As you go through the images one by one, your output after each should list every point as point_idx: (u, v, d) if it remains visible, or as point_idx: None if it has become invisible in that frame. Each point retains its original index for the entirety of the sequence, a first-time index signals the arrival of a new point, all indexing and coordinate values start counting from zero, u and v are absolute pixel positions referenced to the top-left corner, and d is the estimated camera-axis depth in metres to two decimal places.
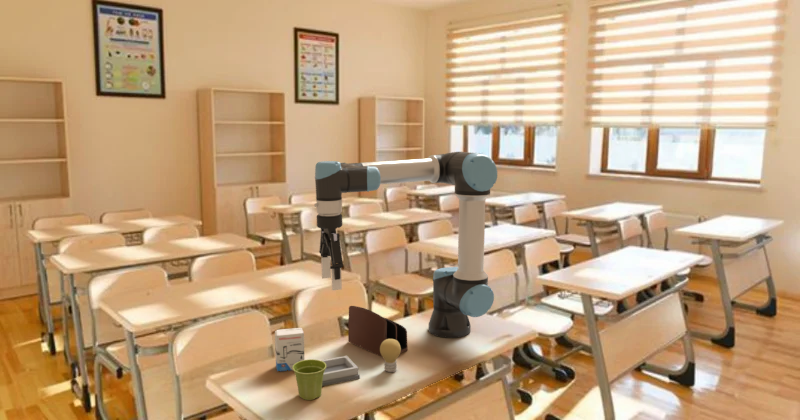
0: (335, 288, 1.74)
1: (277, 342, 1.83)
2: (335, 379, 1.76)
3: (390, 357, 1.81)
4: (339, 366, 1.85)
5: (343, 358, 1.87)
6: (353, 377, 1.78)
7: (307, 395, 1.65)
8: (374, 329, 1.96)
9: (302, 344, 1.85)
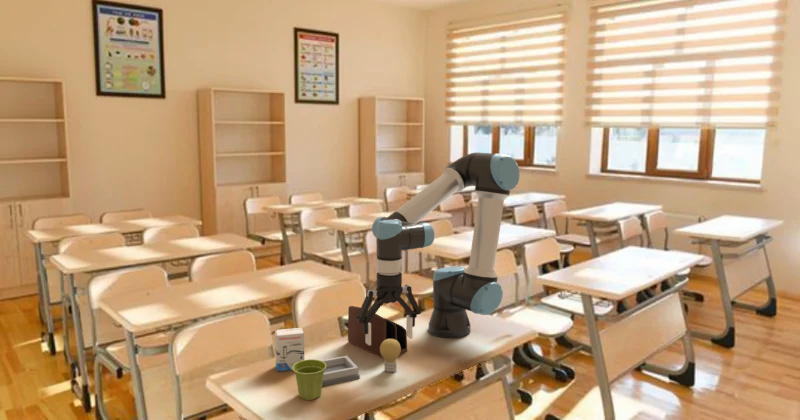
0: (366, 341, 1.80)
1: (277, 342, 1.83)
2: (335, 379, 1.76)
3: (389, 357, 1.81)
4: (339, 366, 1.85)
5: (343, 358, 1.87)
6: (353, 377, 1.78)
7: (307, 395, 1.65)
8: (374, 329, 1.96)
9: (302, 344, 1.85)
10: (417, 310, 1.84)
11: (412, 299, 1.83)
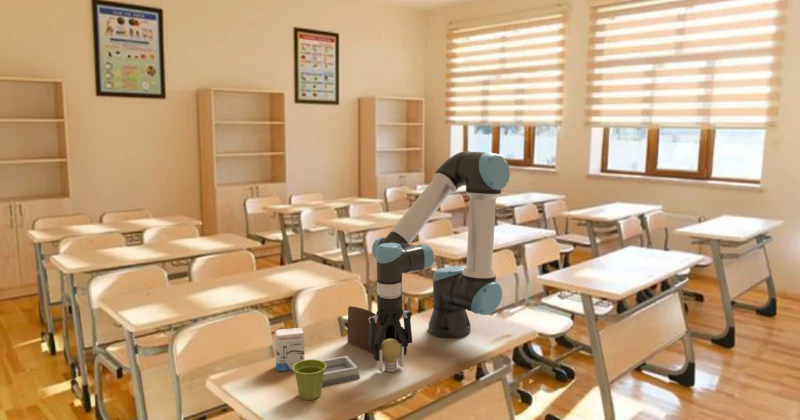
0: (378, 368, 1.83)
1: (277, 342, 1.83)
2: (335, 379, 1.76)
3: (389, 357, 1.81)
4: (339, 366, 1.85)
5: (343, 358, 1.87)
6: (353, 377, 1.78)
7: (307, 395, 1.65)
8: None
9: (302, 344, 1.85)
10: (409, 338, 1.84)
11: (408, 326, 1.83)
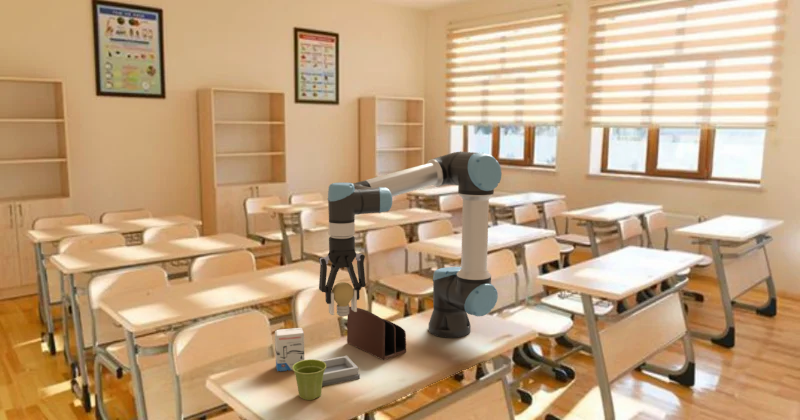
0: (329, 311, 1.78)
1: (277, 342, 1.83)
2: (335, 379, 1.76)
3: (341, 300, 1.75)
4: (339, 366, 1.85)
5: (343, 358, 1.87)
6: (353, 377, 1.78)
7: (307, 395, 1.65)
8: (372, 330, 1.95)
9: (302, 344, 1.85)
10: (362, 282, 1.79)
11: (361, 269, 1.78)
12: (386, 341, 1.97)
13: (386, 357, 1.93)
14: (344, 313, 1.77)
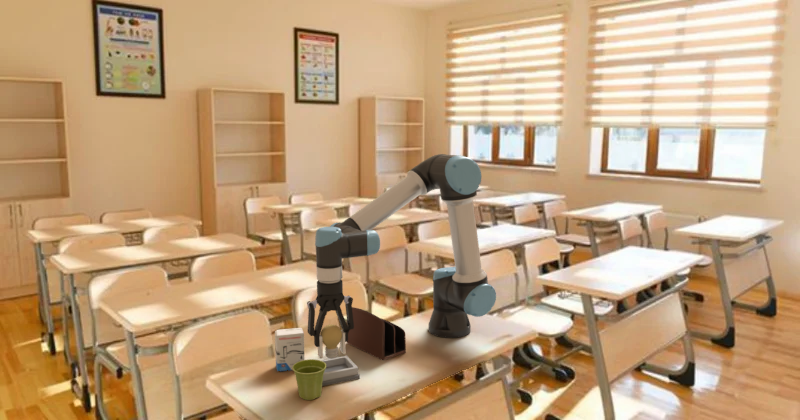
0: (318, 354, 1.79)
1: (277, 342, 1.83)
2: (335, 379, 1.76)
3: (330, 343, 1.77)
4: (339, 366, 1.85)
5: (343, 358, 1.87)
6: (353, 377, 1.78)
7: (307, 395, 1.65)
8: (372, 331, 1.95)
9: (302, 344, 1.85)
10: (351, 324, 1.81)
11: (350, 311, 1.80)
12: (386, 341, 1.97)
13: (386, 357, 1.93)
14: (333, 355, 1.79)
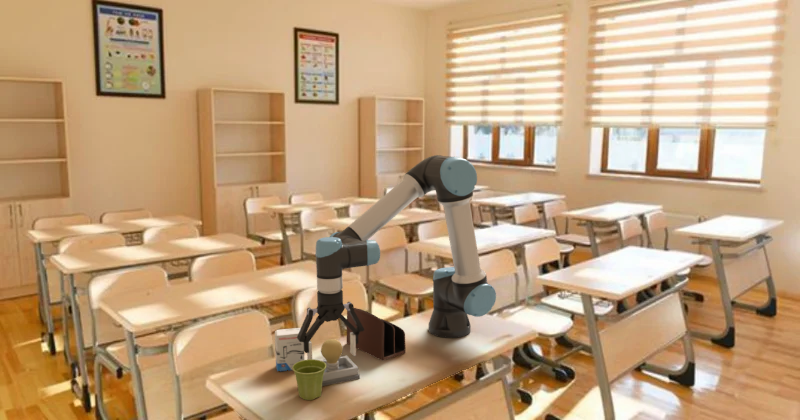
0: None
1: (277, 342, 1.83)
2: (335, 379, 1.76)
3: (330, 357, 1.78)
4: (339, 366, 1.85)
5: (343, 358, 1.87)
6: (353, 377, 1.78)
7: (307, 395, 1.65)
8: (372, 331, 1.95)
9: (302, 344, 1.85)
10: (360, 327, 1.82)
11: (354, 316, 1.81)
12: (385, 342, 1.97)
13: (385, 358, 1.92)
14: (333, 370, 1.80)
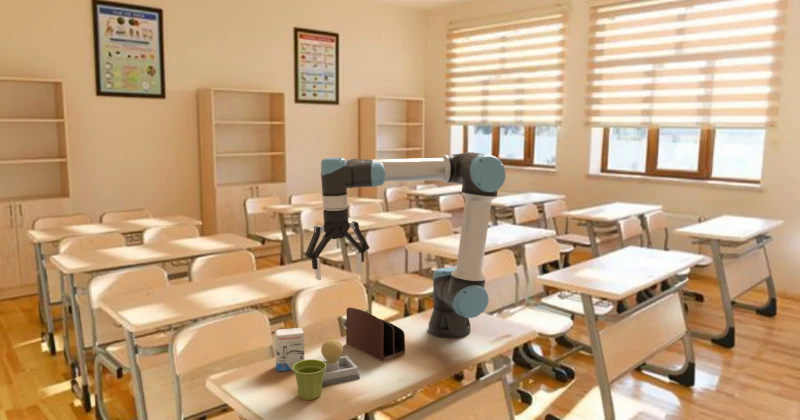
0: (316, 277, 1.85)
1: (277, 342, 1.83)
2: (335, 379, 1.76)
3: (330, 357, 1.78)
4: (339, 366, 1.85)
5: (343, 358, 1.87)
6: (353, 377, 1.78)
7: (307, 395, 1.65)
8: (371, 331, 1.94)
9: (302, 344, 1.85)
10: (365, 245, 1.89)
11: (360, 234, 1.88)
12: (385, 342, 1.97)
13: (385, 358, 1.92)
14: (333, 370, 1.80)
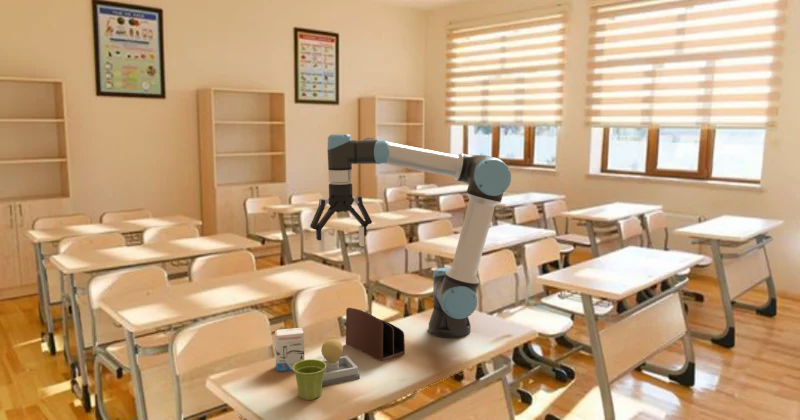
0: (320, 248, 1.93)
1: (277, 342, 1.83)
2: (335, 379, 1.76)
3: (331, 357, 1.78)
4: (339, 366, 1.85)
5: (343, 358, 1.87)
6: (353, 377, 1.78)
7: (307, 395, 1.65)
8: (371, 332, 1.94)
9: (302, 344, 1.85)
10: (368, 220, 1.97)
11: (363, 209, 1.96)
12: (384, 342, 1.96)
13: (384, 359, 1.92)
14: (333, 370, 1.80)
